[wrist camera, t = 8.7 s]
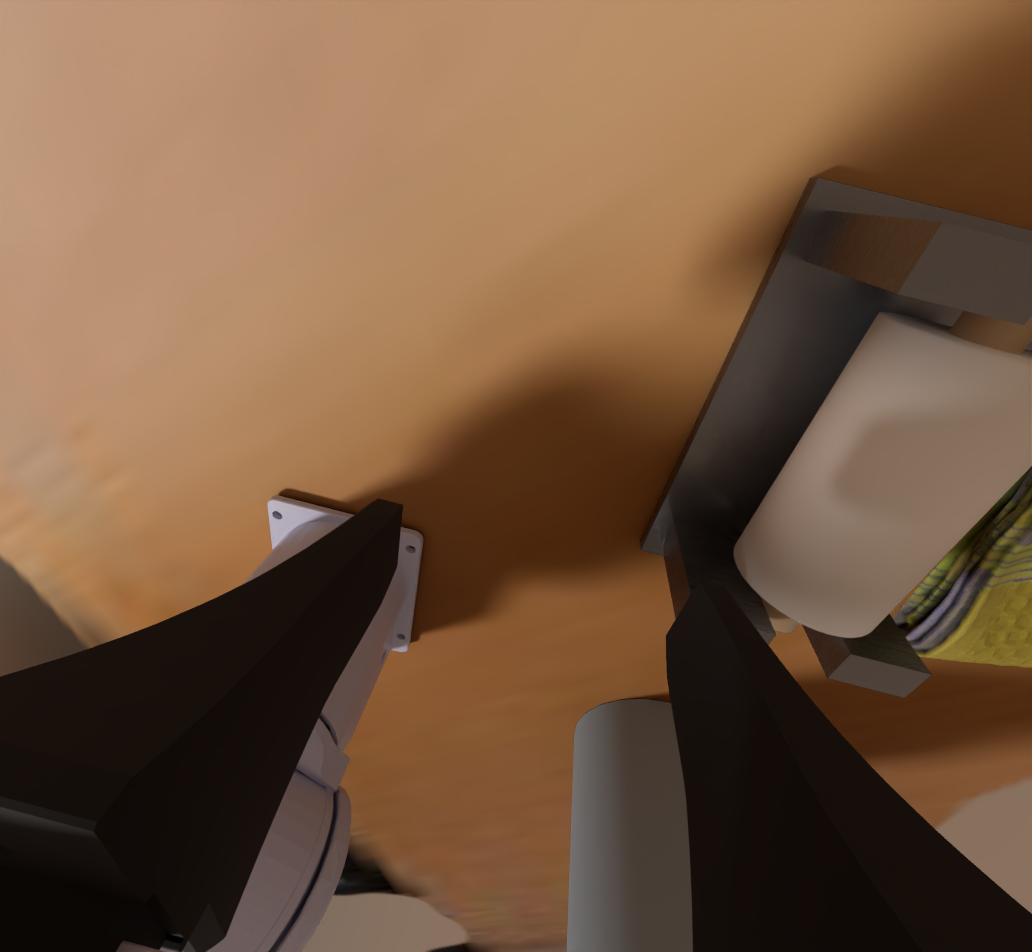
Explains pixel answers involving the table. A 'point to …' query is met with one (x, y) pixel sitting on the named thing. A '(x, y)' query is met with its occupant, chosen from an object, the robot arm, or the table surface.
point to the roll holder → (823, 382)
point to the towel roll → (892, 471)
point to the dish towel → (980, 591)
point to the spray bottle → (629, 833)
